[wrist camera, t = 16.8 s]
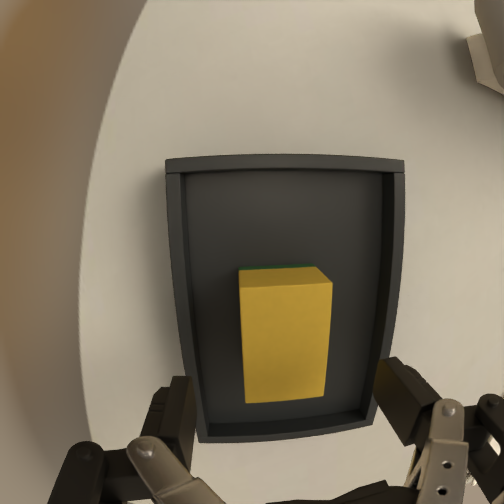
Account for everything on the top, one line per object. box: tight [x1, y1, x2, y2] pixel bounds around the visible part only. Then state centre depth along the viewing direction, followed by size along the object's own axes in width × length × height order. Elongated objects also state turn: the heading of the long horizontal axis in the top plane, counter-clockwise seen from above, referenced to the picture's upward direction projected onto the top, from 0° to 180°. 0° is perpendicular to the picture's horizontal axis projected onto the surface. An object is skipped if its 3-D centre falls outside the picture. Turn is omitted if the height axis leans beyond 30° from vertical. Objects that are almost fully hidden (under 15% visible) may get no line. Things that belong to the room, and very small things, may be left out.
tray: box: [165, 154, 405, 443], centre depth 18 cm, size 20×14×2 cm
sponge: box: [238, 263, 333, 403], centre depth 17 cm, size 7×4×4 cm, turn 2°
